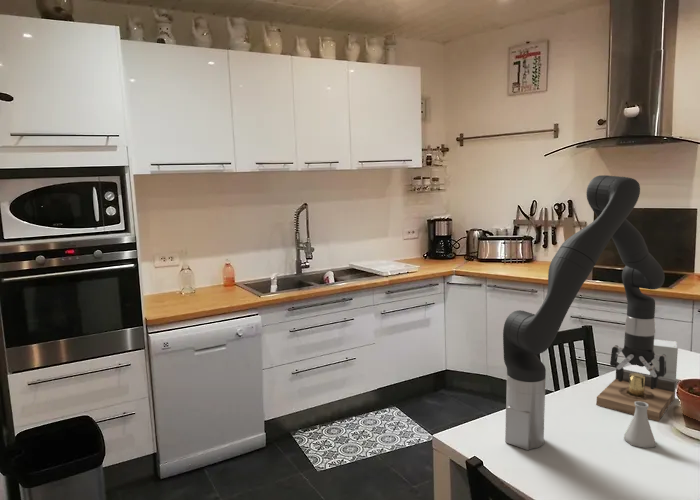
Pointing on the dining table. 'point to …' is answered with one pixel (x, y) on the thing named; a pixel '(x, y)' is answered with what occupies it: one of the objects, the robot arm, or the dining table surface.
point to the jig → (622, 401)
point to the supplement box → (667, 356)
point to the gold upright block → (636, 384)
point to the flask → (640, 428)
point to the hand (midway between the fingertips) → (636, 384)
